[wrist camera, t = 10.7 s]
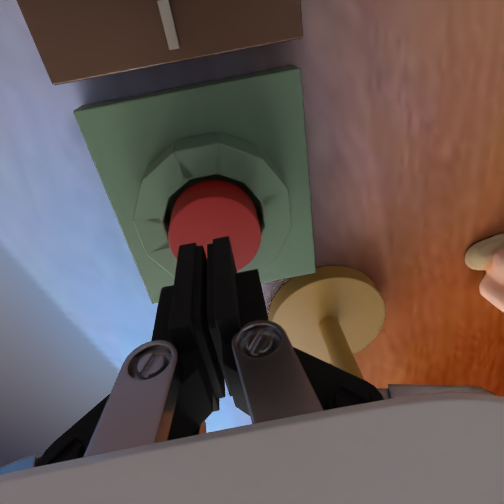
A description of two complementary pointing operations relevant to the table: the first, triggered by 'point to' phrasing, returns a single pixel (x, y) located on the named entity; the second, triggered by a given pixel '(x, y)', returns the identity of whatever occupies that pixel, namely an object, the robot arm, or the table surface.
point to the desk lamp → (330, 314)
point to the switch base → (207, 165)
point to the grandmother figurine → (489, 267)
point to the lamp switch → (216, 219)
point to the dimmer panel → (150, 32)
